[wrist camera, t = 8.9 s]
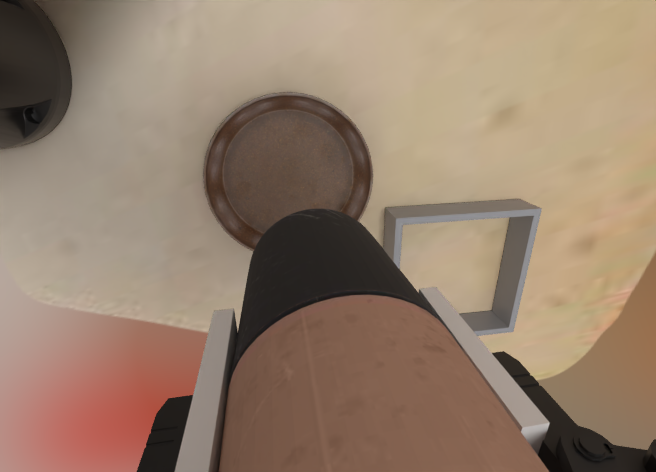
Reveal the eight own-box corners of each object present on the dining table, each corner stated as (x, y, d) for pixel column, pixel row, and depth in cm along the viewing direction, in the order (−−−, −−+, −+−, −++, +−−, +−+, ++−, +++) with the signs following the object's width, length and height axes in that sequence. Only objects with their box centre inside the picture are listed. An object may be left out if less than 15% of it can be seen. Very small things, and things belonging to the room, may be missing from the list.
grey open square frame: (379, 327, 49) (388, 346, 45) (385, 207, 42) (396, 218, 38) (496, 314, 51) (513, 331, 47) (519, 198, 44) (541, 208, 40)
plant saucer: (389, 205, 42) (398, 213, 39) (263, 272, 43) (262, 285, 40) (323, 59, 35) (327, 56, 32) (173, 144, 36) (165, 149, 33)
